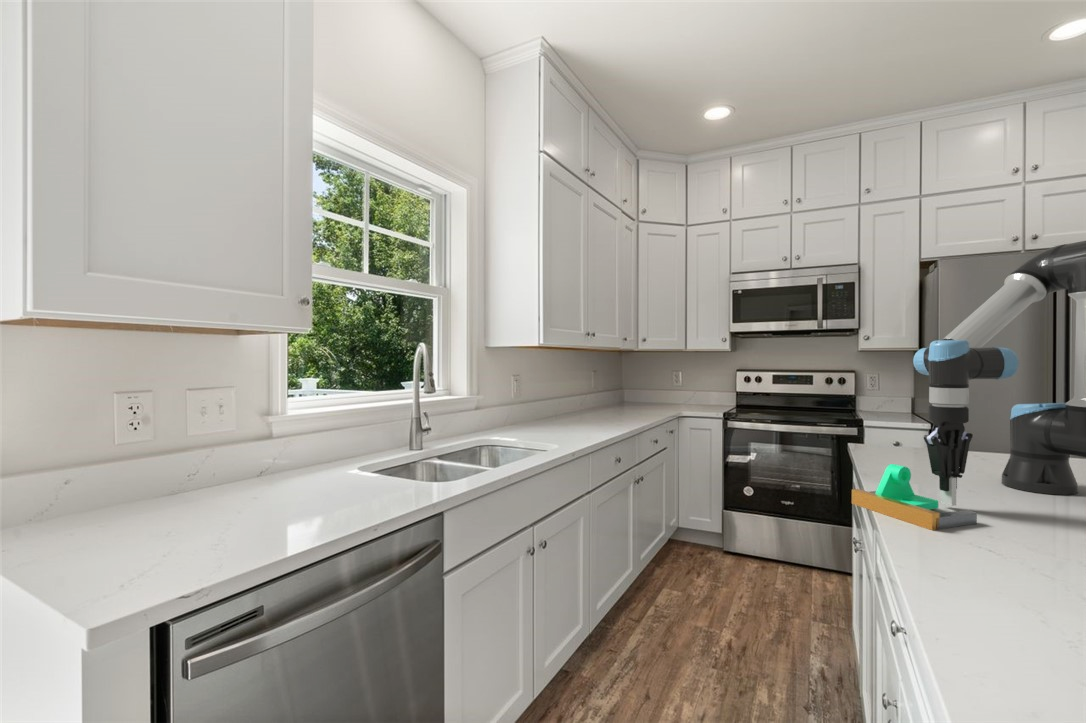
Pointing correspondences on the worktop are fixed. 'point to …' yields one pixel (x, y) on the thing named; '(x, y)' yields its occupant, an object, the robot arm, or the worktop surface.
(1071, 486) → the robot arm
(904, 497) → the camera mount
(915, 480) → the worktop surface
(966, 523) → the dock
